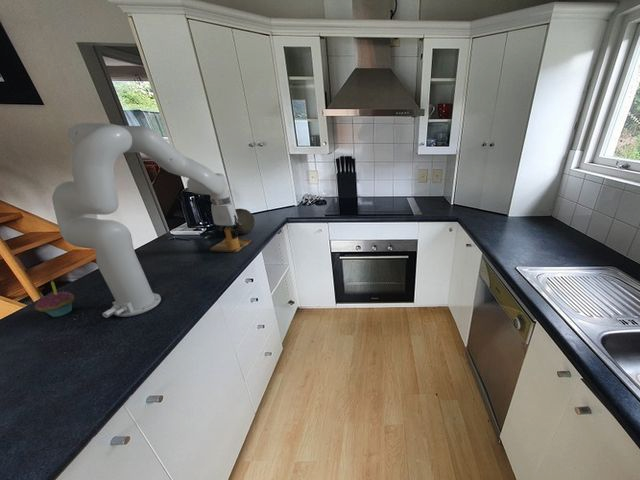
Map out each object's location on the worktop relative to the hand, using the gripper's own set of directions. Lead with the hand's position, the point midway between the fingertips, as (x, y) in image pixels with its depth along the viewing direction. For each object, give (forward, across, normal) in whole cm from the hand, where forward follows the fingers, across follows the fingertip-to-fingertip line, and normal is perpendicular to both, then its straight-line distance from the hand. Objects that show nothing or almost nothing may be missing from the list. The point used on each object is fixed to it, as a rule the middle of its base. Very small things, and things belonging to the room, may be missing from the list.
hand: (230, 237), depth 135 cm
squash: (+6, 0, 0) cm, 6 cm away
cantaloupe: (+7, -7, +20) cm, 22 cm away
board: (+7, -4, +4) cm, 9 cm away
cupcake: (+7, -26, -55) cm, 61 cm away
